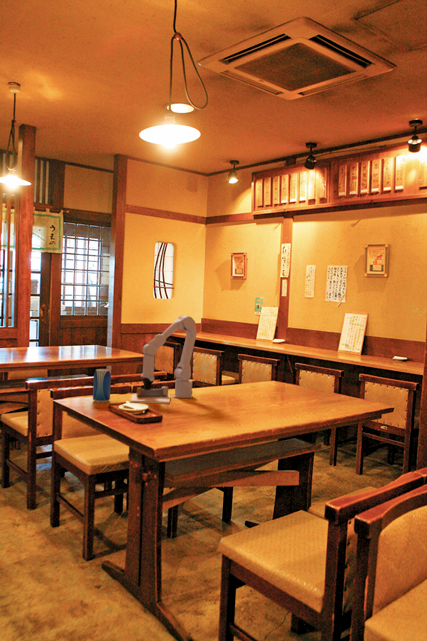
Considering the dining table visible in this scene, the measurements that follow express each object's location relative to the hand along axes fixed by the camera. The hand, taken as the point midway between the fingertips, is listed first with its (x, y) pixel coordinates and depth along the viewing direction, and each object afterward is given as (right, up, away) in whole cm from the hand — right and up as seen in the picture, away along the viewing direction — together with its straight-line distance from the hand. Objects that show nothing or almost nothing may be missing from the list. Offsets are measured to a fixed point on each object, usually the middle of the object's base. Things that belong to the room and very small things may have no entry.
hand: (147, 392), depth 266 cm
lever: (+3, -2, -1) cm, 3 cm away
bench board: (+2, -3, -3) cm, 5 cm away
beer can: (-21, -3, -13) cm, 25 cm away
